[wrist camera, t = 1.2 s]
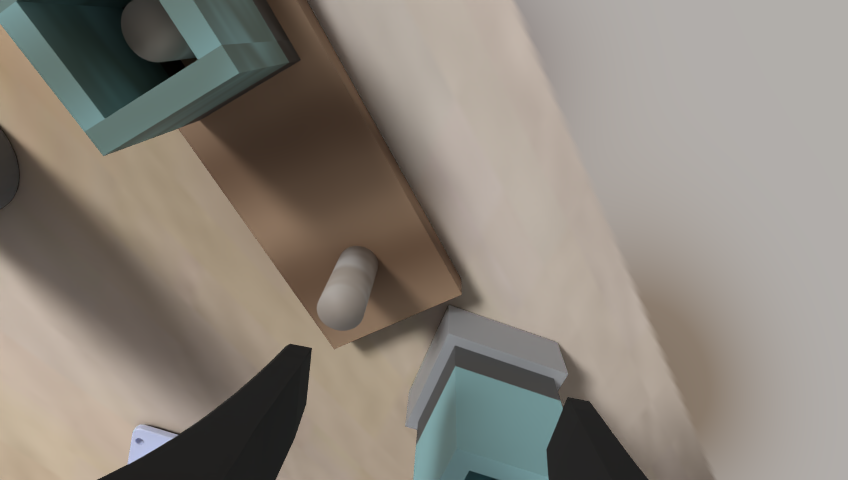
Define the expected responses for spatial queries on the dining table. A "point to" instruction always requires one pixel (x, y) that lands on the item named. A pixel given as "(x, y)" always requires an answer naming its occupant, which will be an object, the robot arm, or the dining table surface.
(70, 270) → the dining table surface
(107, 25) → the peg board
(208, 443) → the robot arm
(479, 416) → the sleeve
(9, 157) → the bottle
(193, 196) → the dining table surface
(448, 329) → the block
